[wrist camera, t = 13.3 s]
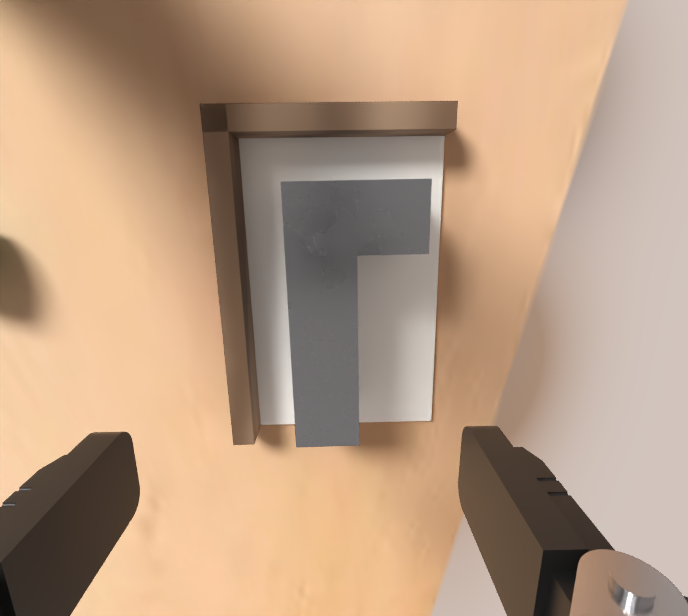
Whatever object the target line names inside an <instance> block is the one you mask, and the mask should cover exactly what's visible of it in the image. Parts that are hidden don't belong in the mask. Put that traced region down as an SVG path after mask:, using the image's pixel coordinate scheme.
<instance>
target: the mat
mask: <svg viewBox="0 0 688 616" xmlns="http://www.w3.org/2000/svg"><path fill="white" fill-rule="evenodd" d="M444 138H445V136H393V137H313V138H239V150H240V163H241V176H242V189H243V202H244V215H245V227H246V240H247V253H248V266H249V279H250V292H251V305H252V318H253V331H254V344H255V357H256V370H257V382H258V395H259V408H260V421H261V425H278V424H295V419H294V402H293V385H292V368H291V351H290V334H289V317H288V300H287V283H286V266H285V249H284V232H283V215H282V198H281V182H283V181H333V180H382V179H432V186H431V215H430V243H429V254H410V255H366V256H357V277H358V362H359V423H360V422H401V421H431V414H432V393H433V372H434V351H435V329H436V308H437V287H438V266H439V245H440V223H441V202H442V181H443V160H444Z"/></svg>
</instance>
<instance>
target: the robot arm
mask: <svg viewBox="0 0 688 616" xmlns="http://www.w3.org/2000/svg"><path fill="white" fill-rule="evenodd" d="M458 489H459V497H460V502H461V506H462V509H463V512H464V514H465V517H466V519H467V521H468V524H469V526H470V528H471V531H472V533H473V536H474V538H475V540H476V543H477V545H478V547H479V550H480V552H481V554H482V557H483V559H484V562H485V564H486V566H487V569H488V571H489V573H490V576H491V578H492V581H493V583H494V585H495V588H496V590H497V593H498V595H499V597H500V600H501V602H502V604H503V607H504V609H505V611H506V614H507V616H688V597H685V596H683V595H682V593H681V592H680V591H679V590H678V588H677V587H676V586H675V585H674V584H673V583H672V582H671V581H670V580H669V579H668V578H667V577H666V576H664V575H663V574H662V573H661V572H659V571H658V570H656V569H655V568H653V567H652V566H651V565H649V564H647V563H645V562H643V561H642V560H640V559H637V558H635V557H633V556H631V555H628V554H625V553H622V552H618V551H615V550H614V549H613V548H612V546H611V545H610V544H609V542H608V541H607V540H606V539H605V537H604V536H603V535H602V534H601V533H600V531H599V530H598V529H597V528H596V527H595V525H594V524H593V523H592V521H591V520H590V519H589V518H588V517H587V515H586V514H585V513H584V512H583V510H582V509H581V508H580V507H579V505H578V504H577V503H576V502H575V500H574V499H573V498H572V497H571V496H568V494H567V491H566V490H565V488H564V487H563V486H562V484H561V483H560V482H559V481H556V477H555V476H554V475H553V473H552V472H551V471H550V470H549V469H548V467H547V466H546V465H545V464H544V462H543V461H542V460H540V459H539V458H537V457H536V456H535V455H533V454H532V453H530V452H528V451H527V450H526V449H524V448H523V447H513V446H512V444H511V443H510V442H509V441H508V439H507V438H506V436H505V435H504V434H503V432H502V431H501V430H500V428H499V427H497V426H467V427H465V428H464V429H463V433H462V442H461V454H460V466H459V479H458ZM139 496H140V486H139V479H138V473H137V467H136V461H135V454H134V448H133V442H132V438H131V436H130V434H129V433H127V432H94V433H91V434H89V435H88V436H87V437H86V438H85V439H83V440H82V441H81V442H80V443H79V444H78V445H77V446H76V447H75V448H74V449H73V450H72V451H71V452H70V453H69V454H68V455H64V456H62V457H60V458H59V459H57V460H55V461H54V462H52V463H50V464H48V465H47V466H45V467H43V468H42V469H40V470H38V471H37V472H36V473H35V474H34V475H33V476H32V477H31V478H30V479H29V480H27V481H26V482H25V483H24V484H23V485H22V486H21V487H20V488H19V491H15V492H14V493H13V494H12V495H11V496H10V497H9V498H8V499H6V500H5V501H4V502H3V505H2V507H0V616H70V615H71V613H72V612H73V610H74V609H75V607H76V605H77V604H78V602H79V601H80V599H81V598H82V596H83V594H84V593H85V591H86V590H87V588H88V587H89V585H90V583H91V582H92V580H93V579H94V577H95V576H96V574H97V573H98V571H99V569H100V568H101V566H102V565H103V563H104V562H105V560H106V558H107V557H108V555H109V554H110V552H111V551H112V549H113V547H114V546H115V544H116V543H117V541H118V540H119V538H120V537H121V535H122V533H123V532H124V530H125V529H126V527H127V526H128V524H129V522H130V521H131V519H132V518H133V516H134V514H135V512H136V509H137V506H138V502H139Z"/></svg>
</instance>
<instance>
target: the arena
mask: <svg viewBox="0 0 688 616" xmlns="http://www.w3.org/2000/svg"><path fill="white" fill-rule="evenodd" d="M457 106H458V101H409V102H319V103H229V104H200V111H201V121H202V131H203V141H204V151H205V162H206V172H207V182H208V192H209V202H210V212H211V222H212V232H213V243H214V253H215V263H216V273H217V283H218V293H219V303H220V313H221V323H222V334H223V344H224V354H225V364H226V374H227V384H228V394H229V404H230V415H231V425H232V435H233V445H249V444H255V441H256V438H257V435H258V432H259V429H260V426H261V421H260V408H259V395H258V382H257V370H256V357H255V344H254V331H253V318H252V305H251V292H250V279H249V266H248V253H247V240H246V227H245V215H244V202H243V189H242V176H241V163H240V150H239V138H313V137H393V136H445V135H447V134H448V133H450V132H452V131H453V130H455V129H456V125H457Z"/></svg>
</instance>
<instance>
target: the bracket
mask: <svg viewBox="0 0 688 616" xmlns="http://www.w3.org/2000/svg"><path fill="white" fill-rule="evenodd" d="M431 186H432V179H382V180H333V181H283V182H281V198H282V215H283V232H284V249H285V266H286V283H287V300H288V317H289V334H290V351H291V368H292V385H293V402H294V419H295V436H296V447H323V446H356V445H359V362H358V277H357V256H366V255H410V254H429V243H430V215H431Z"/></svg>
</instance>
